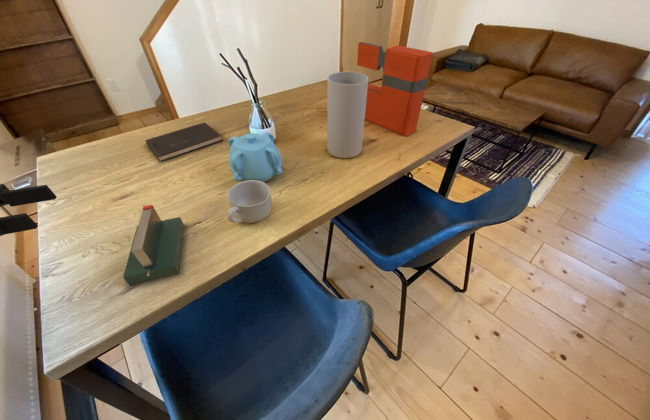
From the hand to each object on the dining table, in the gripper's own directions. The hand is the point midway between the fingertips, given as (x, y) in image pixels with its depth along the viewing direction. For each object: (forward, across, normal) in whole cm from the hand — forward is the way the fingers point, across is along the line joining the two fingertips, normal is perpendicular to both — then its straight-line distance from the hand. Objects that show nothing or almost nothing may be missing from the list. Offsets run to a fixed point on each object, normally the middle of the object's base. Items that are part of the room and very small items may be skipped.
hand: (41, 205), depth 45 cm
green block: (+9, -6, -22) cm, 24 cm away
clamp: (+91, -57, -22) cm, 109 cm away
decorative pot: (+36, -32, -22) cm, 53 cm away
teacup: (+31, -11, -22) cm, 40 cm away
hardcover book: (+12, -61, -22) cm, 66 cm away
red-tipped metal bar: (+9, -6, -19) cm, 22 cm away
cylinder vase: (+68, -37, -22) cm, 80 cm away
